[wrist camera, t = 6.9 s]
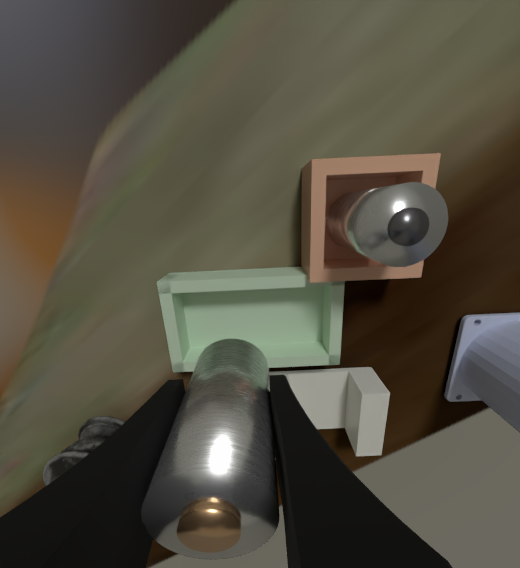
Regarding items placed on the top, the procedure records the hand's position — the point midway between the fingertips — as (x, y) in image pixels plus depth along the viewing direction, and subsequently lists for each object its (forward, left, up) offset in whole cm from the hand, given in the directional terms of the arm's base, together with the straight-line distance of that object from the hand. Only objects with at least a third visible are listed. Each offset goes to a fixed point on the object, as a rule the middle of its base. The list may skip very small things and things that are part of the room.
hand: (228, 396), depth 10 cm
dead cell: (-8, -6, -8) cm, 13 cm away
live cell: (0, 0, -2) cm, 2 cm away
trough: (-1, 0, -9) cm, 9 cm away
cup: (-8, -6, -9) cm, 13 cm away
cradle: (-6, +9, -9) cm, 14 cm away
